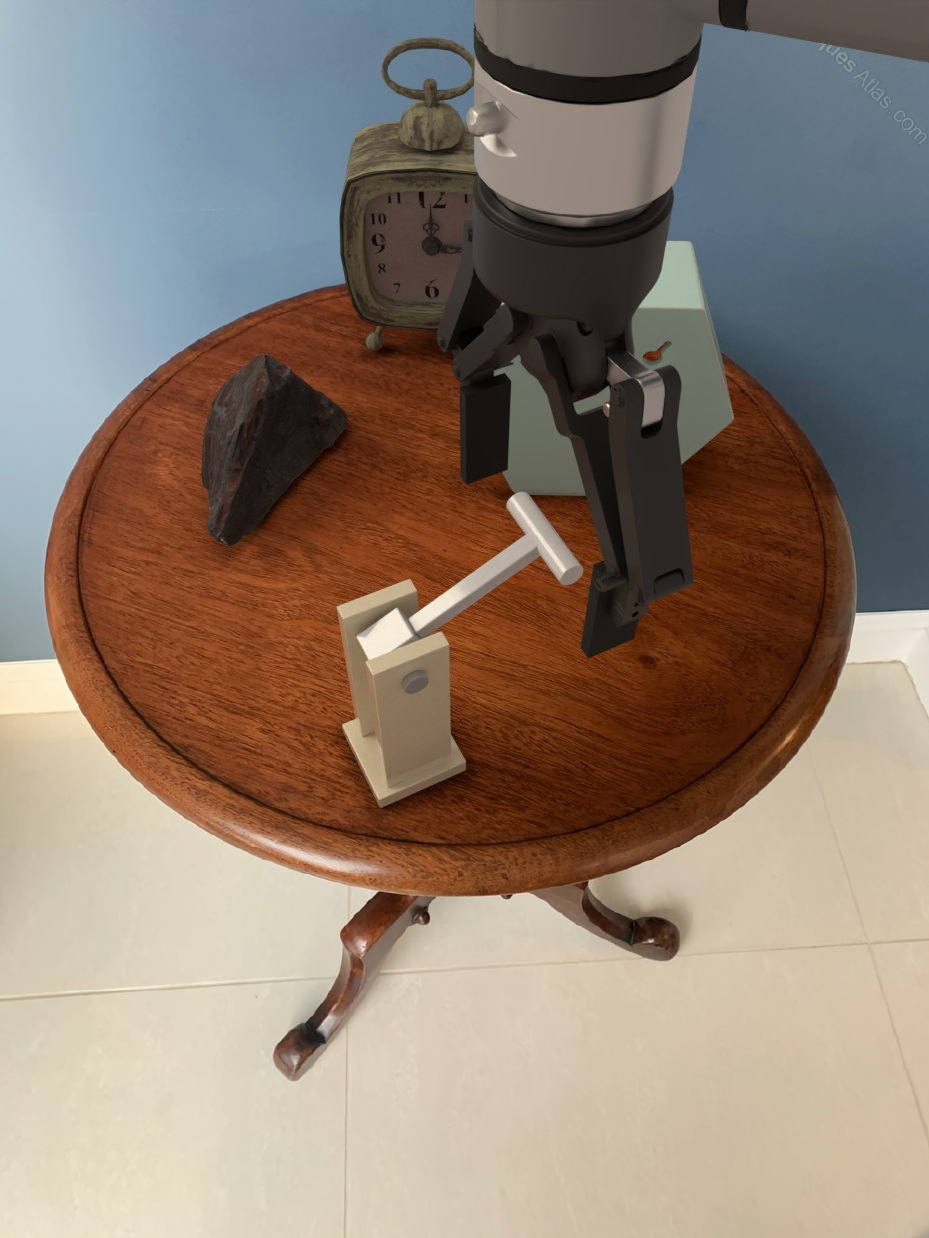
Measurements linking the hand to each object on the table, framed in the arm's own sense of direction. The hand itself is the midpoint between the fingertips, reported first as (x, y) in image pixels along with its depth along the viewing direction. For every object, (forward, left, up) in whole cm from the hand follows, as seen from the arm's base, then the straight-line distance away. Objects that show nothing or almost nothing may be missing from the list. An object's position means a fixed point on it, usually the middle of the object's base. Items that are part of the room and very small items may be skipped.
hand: (541, 553), depth 53 cm
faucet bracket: (+6, +6, -15) cm, 18 cm away
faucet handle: (+3, +3, -2) cm, 5 cm away
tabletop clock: (+19, -35, -15) cm, 43 cm away
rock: (+24, -13, -15) cm, 31 cm away
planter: (+2, -23, -16) cm, 28 cm away
